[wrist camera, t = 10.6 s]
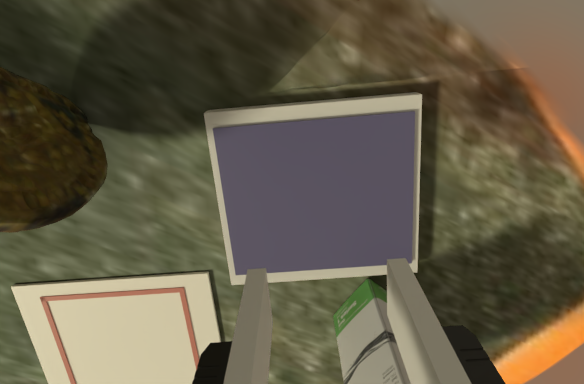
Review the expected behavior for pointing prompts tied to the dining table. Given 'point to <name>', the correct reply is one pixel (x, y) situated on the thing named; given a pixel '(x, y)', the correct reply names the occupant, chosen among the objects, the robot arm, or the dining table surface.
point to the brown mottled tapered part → (44, 156)
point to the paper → (120, 327)
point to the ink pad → (318, 185)
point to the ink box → (368, 339)
